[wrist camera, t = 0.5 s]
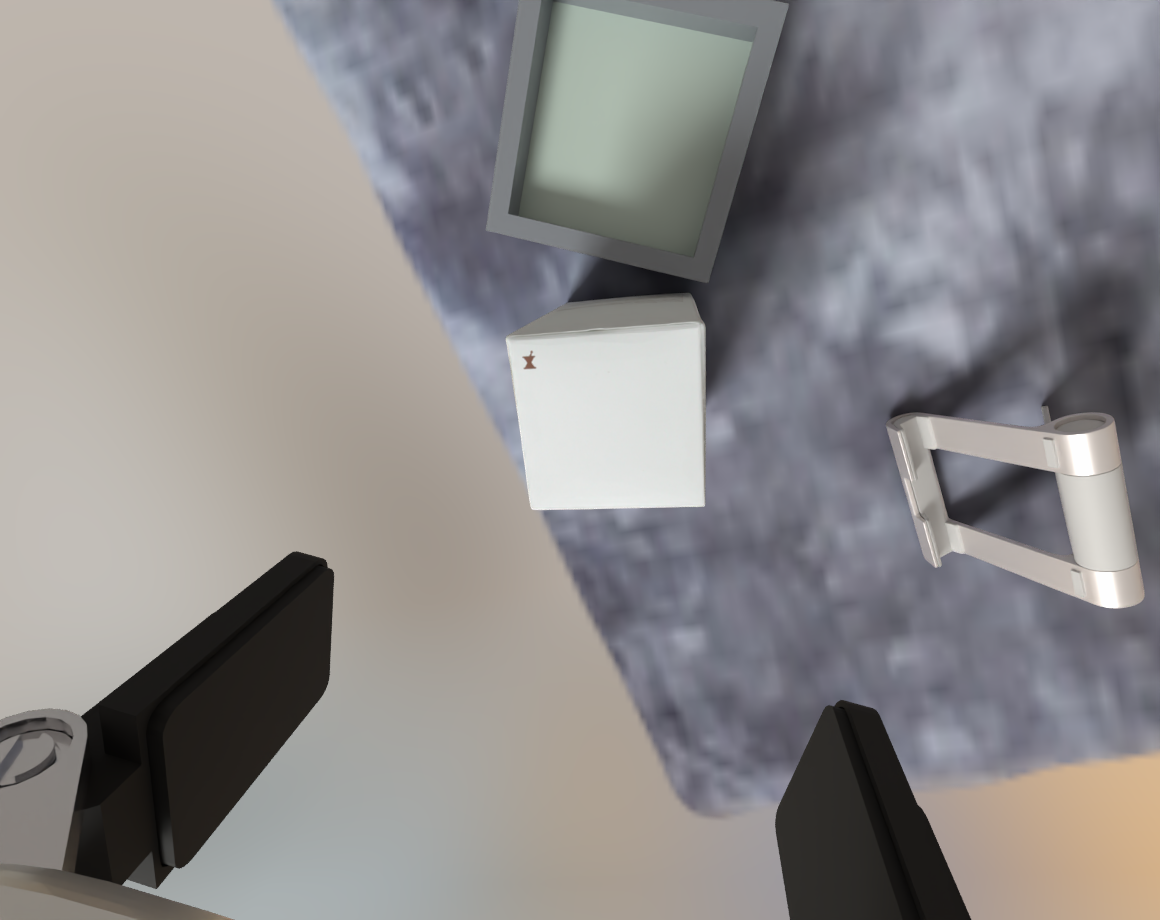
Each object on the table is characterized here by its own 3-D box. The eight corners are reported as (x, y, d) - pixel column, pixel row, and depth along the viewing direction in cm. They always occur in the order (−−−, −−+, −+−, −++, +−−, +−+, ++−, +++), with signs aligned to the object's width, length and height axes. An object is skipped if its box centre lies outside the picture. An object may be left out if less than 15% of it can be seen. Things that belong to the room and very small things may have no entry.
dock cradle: (541, -20, 28) (526, -50, 25) (778, 28, 27) (789, 3, 24) (502, 231, 32) (485, 230, 29) (705, 280, 31) (708, 283, 28)
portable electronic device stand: (880, 420, 32) (942, 475, 25) (1038, 369, 30) (1161, 411, 22) (918, 550, 35) (986, 637, 27) (1068, 510, 32) (1189, 594, 25)
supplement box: (575, 424, 35) (522, 514, 24) (564, 299, 33) (499, 330, 21) (698, 420, 34) (707, 513, 22) (696, 290, 32) (706, 317, 20)
